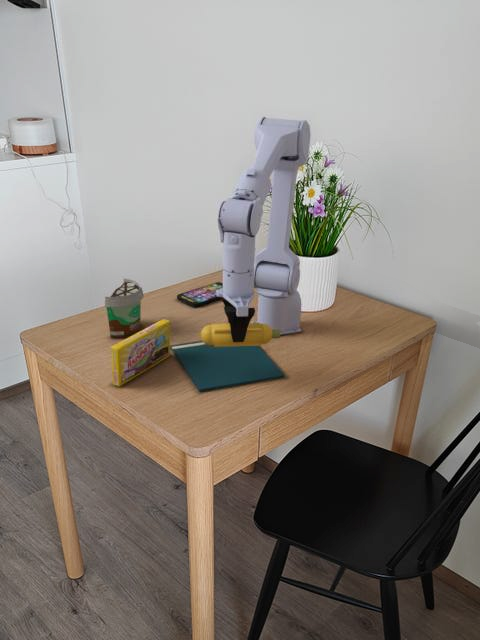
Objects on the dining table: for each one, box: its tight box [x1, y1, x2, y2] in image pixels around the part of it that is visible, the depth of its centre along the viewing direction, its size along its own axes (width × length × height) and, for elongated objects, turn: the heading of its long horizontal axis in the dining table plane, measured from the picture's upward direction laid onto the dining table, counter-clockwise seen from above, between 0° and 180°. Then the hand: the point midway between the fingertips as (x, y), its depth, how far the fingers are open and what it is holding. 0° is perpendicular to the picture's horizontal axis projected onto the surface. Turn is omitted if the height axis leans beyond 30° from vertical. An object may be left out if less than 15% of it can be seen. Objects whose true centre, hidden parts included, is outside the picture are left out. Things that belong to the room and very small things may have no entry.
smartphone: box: [176, 281, 223, 308], centre depth 161 cm, size 8×1×15 cm
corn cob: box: [200, 321, 281, 347], centre depth 122 cm, size 4×15×4 cm, turn 97°
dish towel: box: [170, 340, 286, 393], centre depth 131 cm, size 18×20×1 cm
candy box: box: [110, 318, 171, 388], centre depth 125 cm, size 16×2×8 cm, turn 148°
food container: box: [104, 278, 144, 339], centre depth 140 cm, size 12×6×10 cm, turn 168°
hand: (236, 336), depth 122 cm, fingers closed on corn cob, 4 cm apart
